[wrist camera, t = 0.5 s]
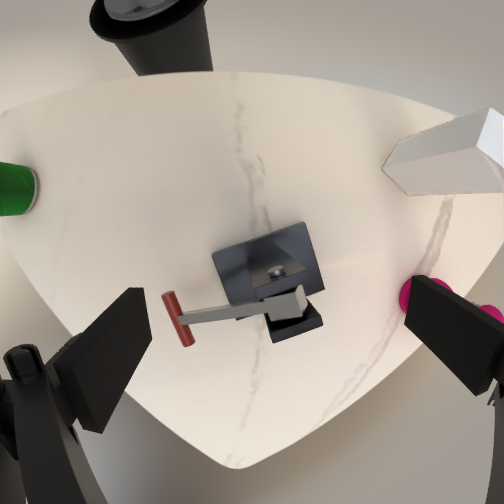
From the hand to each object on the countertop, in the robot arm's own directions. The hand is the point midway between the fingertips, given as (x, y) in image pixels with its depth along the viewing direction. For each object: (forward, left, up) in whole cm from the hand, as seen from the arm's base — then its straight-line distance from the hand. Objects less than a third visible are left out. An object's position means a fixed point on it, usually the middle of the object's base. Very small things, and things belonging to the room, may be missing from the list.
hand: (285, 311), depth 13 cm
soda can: (+17, -33, -24) cm, 44 cm away
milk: (-23, +8, -24) cm, 34 cm away
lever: (+5, +1, -14) cm, 15 cm away
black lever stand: (+1, +3, -24) cm, 24 cm away
